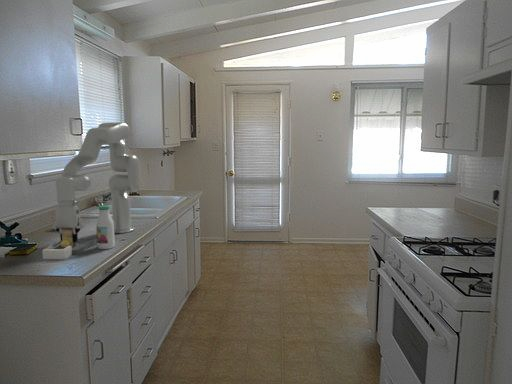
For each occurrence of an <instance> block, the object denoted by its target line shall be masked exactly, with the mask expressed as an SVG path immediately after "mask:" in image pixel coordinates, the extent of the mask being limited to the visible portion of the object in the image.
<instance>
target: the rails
mask: <svg viewBox="0 0 512 384" xmlns="http://www.w3.org/2000/svg"><path fill="white" fill-rule="evenodd" d="M60 246H61V244H59V245H57V246H55V247H53V249H56V248H58V247H60ZM77 246H79V244H76V245H74V246H73V247H72V249H74V248H76V247H77Z"/></svg>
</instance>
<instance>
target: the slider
mask: <svg viewBox="0 0 512 384" xmlns="http://www.w3.org/2000/svg"><path fill="white" fill-rule="evenodd" d="M61 231H62V241H63V240H68V241H69V243H70V244H69V246H73V245H74V244H76V242H75V243H73V238H72V235H73V231H72V228H62V229H61Z"/></svg>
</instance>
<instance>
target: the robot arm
mask: <svg viewBox="0 0 512 384" xmlns="http://www.w3.org/2000/svg"><path fill="white" fill-rule="evenodd" d="M130 133H131V129H130V127H129V125H128V124H127V123H125V122H122V121H121V122H102V123H99V124H98V127H92V128H90V129H88V130H87V132H86V135H85V137H84V140H83V142H82V145H81V147H80V150H79V152H78V154H76V155H75V156H74V157H72V159H70V161H69V162H68V163H67V164H66V165H65V166H64V169H63V170H62V173H61V175H60V176H59V177H56V179H55V188H56V190H55V191H56V201H57V202H56V203H57V206H55V207H56V208H55V213H54V214H55V215H54V219H55V222H54V223H53V225H52V227H51V228H52V229H54V230H55V231H56V232H57V233H58V234H59V238H60V241H61V242H62V231H61V229H62V228H72V231H73V235H72V238H73V243H75V242H77V241H79V240H78V239H79V238H78V237H79V236H78V233H79V232H80V231H81V230H82V229H83V228H85V225H84V224H83V223H82V219H81V212H80V209H79V206H78V204H79V201H78V200H77V199H76V193H75V192H81V191H82V192H83V191H87V190H88V189H89V188H90V187H91V185H92V180H91V178H90V177H89V176H87V175H84V174H77V173H78V172H79V171H80V170H81V169H83V168H84V167H86V166H88V165H90V164H93V163H94V162H96V161H97V160H98V157H99V153H100V152H101V149H102V147H103V146H104V145H105V146H108V149H109V160H110V168H111V170H112V171H114V172H117V174H113V175H112V176H110V178H109V179H108V187H109V190H110V196H111V209H112V210H111V211H112V220H113V224H114V234H123V233H126V234H127V233H130V232H132V231H134V230H135V227H134V226H133V225H132V220H131V219H132V217H131V216H132V215H131V199H130V198H131V197H130V195H129V194H128V193H136V192H139V191H140V189H141V187H142V186H141V185H142V175H141V173H142V172H141V163H140V159H139V157H138V156H136V155H134V154H127V145H126V143H125V141H124V140H125V139H127V138H128V137H129V136H130ZM118 173H127V174H118Z"/></svg>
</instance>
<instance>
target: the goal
mask: <svg viewBox="0 0 512 384" xmlns="http://www.w3.org/2000/svg"><path fill="white" fill-rule="evenodd" d="M72 255H73V254H72V246H68V247H66V248H64V249H53V245H50V246H48V247H45V248H44V249H42V259H43V260H66V259H67V258H69V257H70V256H72Z"/></svg>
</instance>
